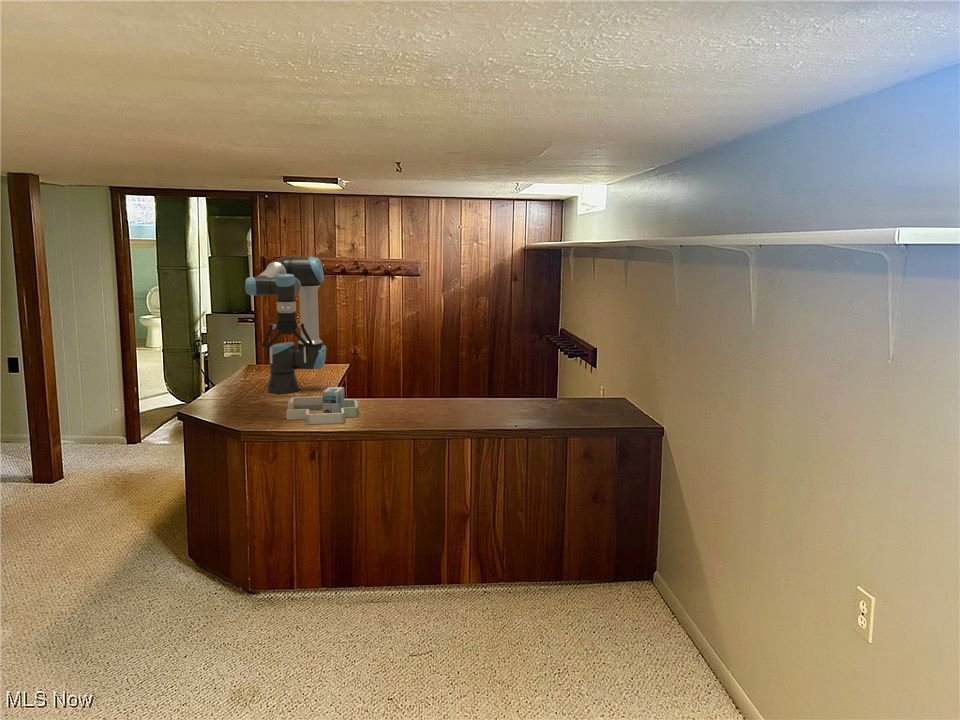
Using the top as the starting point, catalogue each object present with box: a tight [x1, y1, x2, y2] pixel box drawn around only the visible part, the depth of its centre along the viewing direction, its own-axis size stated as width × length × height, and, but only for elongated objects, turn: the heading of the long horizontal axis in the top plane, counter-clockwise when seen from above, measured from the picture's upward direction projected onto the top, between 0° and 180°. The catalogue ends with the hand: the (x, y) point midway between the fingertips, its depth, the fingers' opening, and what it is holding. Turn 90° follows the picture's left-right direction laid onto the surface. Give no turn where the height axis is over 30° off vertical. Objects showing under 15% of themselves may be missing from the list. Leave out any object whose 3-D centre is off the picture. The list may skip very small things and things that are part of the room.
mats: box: [293, 405, 323, 411], centre depth 307 cm, size 32×19×1 cm, turn 13°
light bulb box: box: [322, 386, 346, 414], centre depth 307 cm, size 11×7×11 cm, turn 175°
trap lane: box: [285, 395, 359, 425], centre depth 307 cm, size 34×29×4 cm
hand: (288, 362), depth 301 cm, fingers open, 13 cm apart
